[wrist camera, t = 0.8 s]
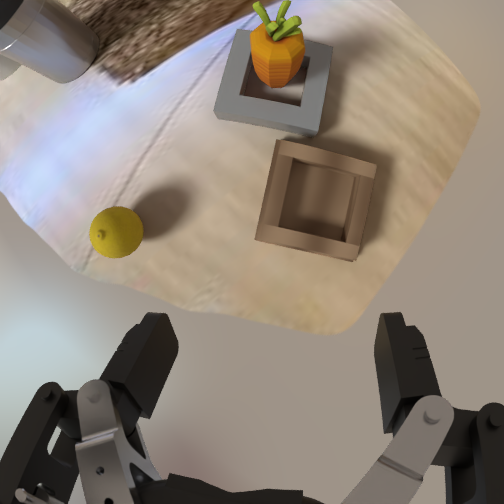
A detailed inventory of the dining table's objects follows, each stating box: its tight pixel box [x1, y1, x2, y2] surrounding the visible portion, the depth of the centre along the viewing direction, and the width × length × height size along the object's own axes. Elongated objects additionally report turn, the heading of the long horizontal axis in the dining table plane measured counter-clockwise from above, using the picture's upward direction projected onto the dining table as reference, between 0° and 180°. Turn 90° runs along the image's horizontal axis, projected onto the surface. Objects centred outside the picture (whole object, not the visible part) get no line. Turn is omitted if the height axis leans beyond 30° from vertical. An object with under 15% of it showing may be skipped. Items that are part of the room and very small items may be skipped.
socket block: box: [213, 29, 333, 138], centre depth 30 cm, size 11×11×3 cm
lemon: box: [89, 207, 143, 258], centre depth 30 cm, size 6×6×8 cm
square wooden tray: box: [255, 139, 377, 262], centre depth 31 cm, size 11×11×4 cm
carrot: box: [250, 0, 305, 88], centre depth 24 cm, size 5×5×15 cm
